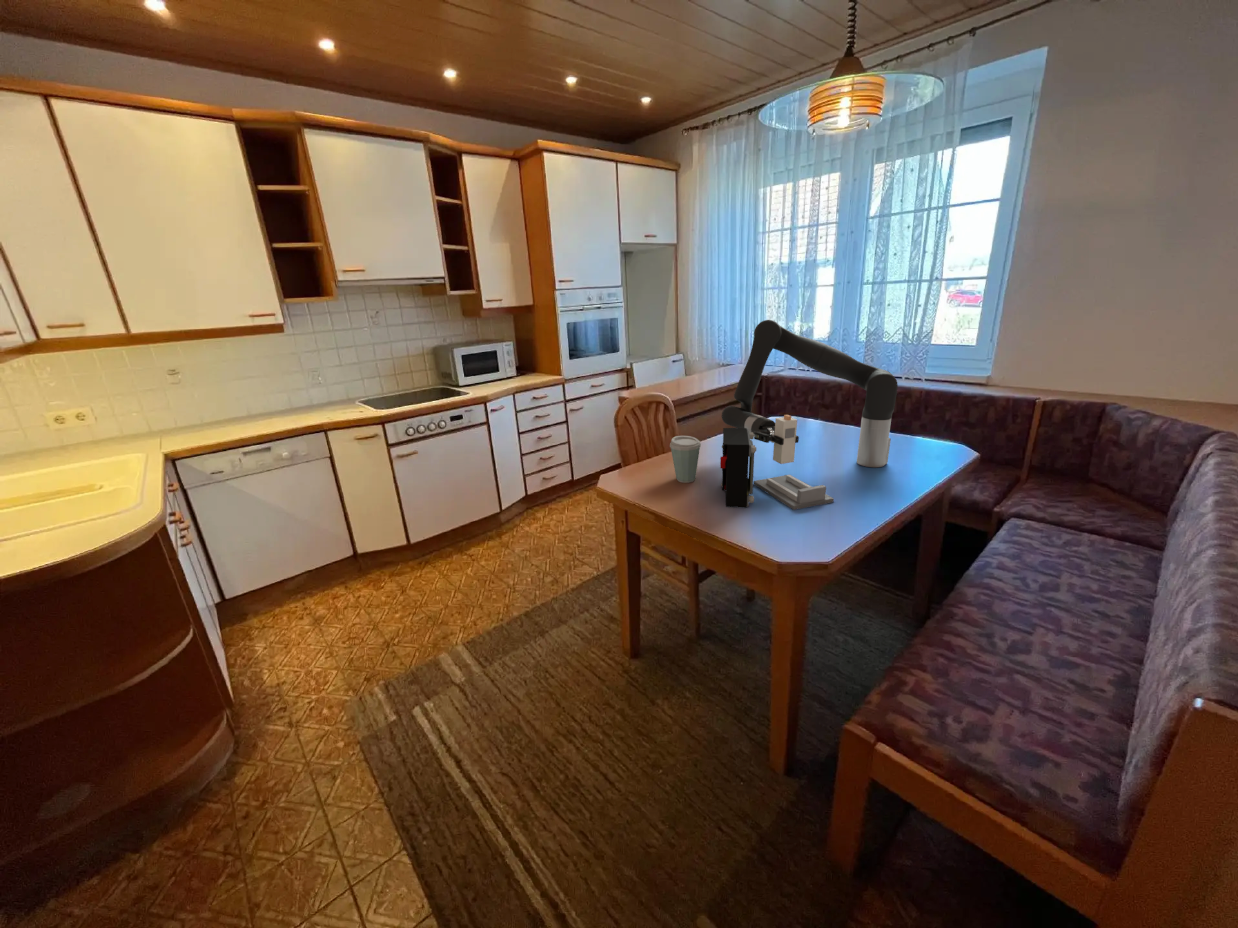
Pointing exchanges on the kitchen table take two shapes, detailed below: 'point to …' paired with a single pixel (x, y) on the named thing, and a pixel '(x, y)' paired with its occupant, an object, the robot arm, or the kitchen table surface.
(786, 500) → the panel
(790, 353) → the robot arm
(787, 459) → the block
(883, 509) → the kitchen table surface
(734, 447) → the electrical component
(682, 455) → the disposable coffee cup
